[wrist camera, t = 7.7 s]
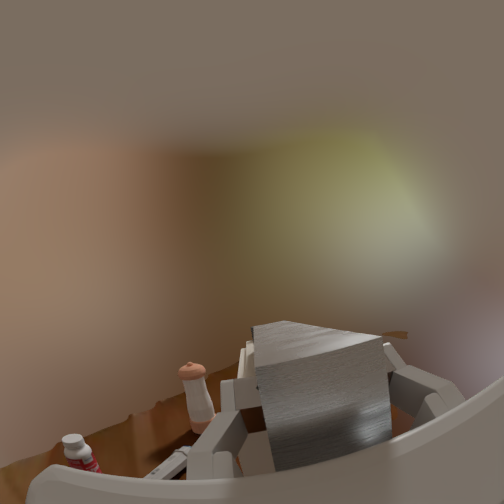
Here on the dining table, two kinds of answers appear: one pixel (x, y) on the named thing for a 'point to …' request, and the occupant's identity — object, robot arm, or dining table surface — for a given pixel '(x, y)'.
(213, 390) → the dining table surface
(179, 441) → the dining table surface
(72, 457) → the pill bottle
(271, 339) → the brushed metal bar
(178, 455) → the toothbrush head
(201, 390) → the pepper shaker
